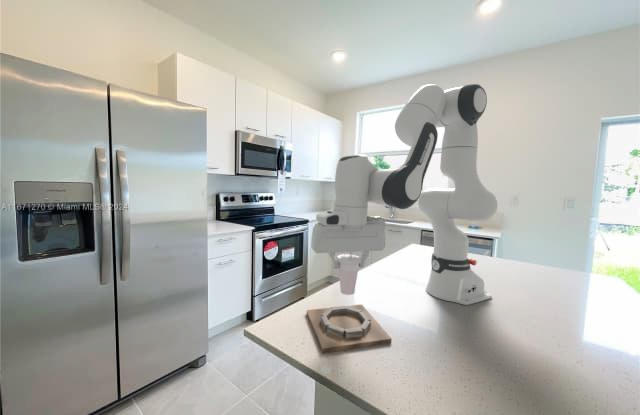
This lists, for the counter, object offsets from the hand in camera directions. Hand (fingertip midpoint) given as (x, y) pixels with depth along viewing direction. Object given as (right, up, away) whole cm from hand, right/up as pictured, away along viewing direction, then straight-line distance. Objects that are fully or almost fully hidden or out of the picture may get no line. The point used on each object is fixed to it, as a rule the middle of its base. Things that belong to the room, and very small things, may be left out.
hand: (347, 267), depth 68 cm
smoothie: (0, -7, +1) cm, 7 cm away
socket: (-1, -17, +2) cm, 17 cm away
